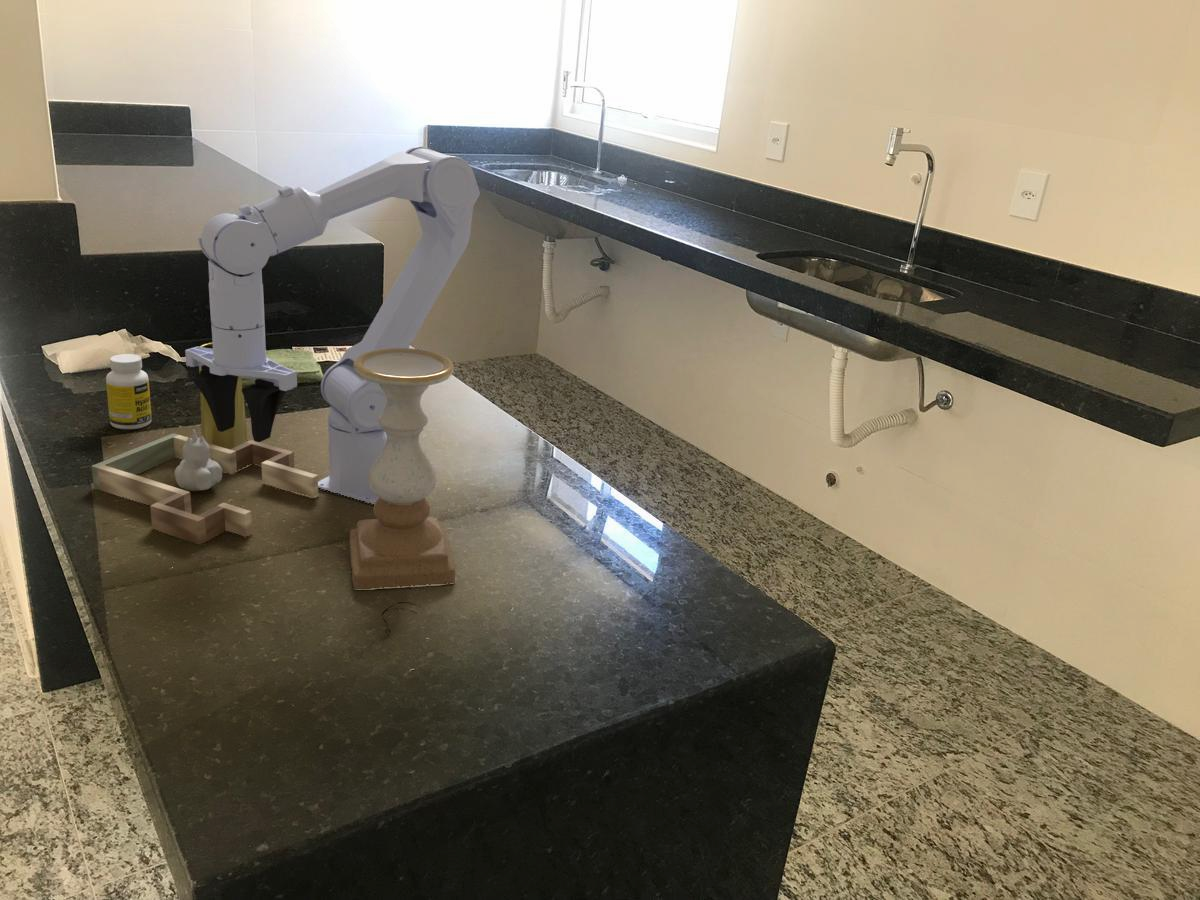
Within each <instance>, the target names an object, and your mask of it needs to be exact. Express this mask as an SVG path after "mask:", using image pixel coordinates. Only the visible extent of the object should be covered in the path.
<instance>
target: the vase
mask: <svg viewBox="0 0 1200 900" xmlns="http://www.w3.org/2000/svg"><path fill="white" fill-rule="evenodd" d="M199 347H203V348H209V349H213V342H208V343H204V344H201V345H200V346H199ZM198 370H199V373H200V371H202V369H201V367H200V366H198ZM199 373H198V374H199ZM242 388H243V387H242V377H238V381H237V386H236V394H235V424H234V427H233V428H230V429H228V430H226V431H223V432H220V431H218V429H217V427H216V424H215V421H214V418H213V415H212V413H211V410H210V408H209V405H208V403H207V401H206V399H205V398H204V396H203V394H202V393H201V391H200V390H199V391H200V393H199V396H200V398H199V399H200V423H201V429H200V431H201V432H200V433H201V434H200V435H201V436H203V438H204V439H205V441H206V442H207V443H209V444H212V445H216V446H219V447H223V448H226V449H232V448H234V447H236V446H239V445H241V444H243V443H245V442H248V441H249V440H248V436H247V433H248V432H247V419H246V410H245V409H246V408H245V397H244V395H243V393H242Z"/></svg>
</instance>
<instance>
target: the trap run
mask: <svg viewBox="0 0 1200 900" xmlns="http://www.w3.org/2000/svg"><path fill="white" fill-rule="evenodd" d="M188 438H190V439H192V437H189V436H185V435H181V434H177V433H174V432H173V433H171V434H167V435H166V436H163V437H160V438H158V439H156V440H153V441H150V442H148V443H145V444H143V445H140V446H138V447H136V448H133V449H130V450H127V451H125V452H123V453H120V454H118V455H115V456H112V457H110V458H107V459H106V460H102V461H101V462H98V463H95V464H92V465H91V474H92V481H93V482H92V483H93V489H96V490H98V491H102V492H104V493H107V494H111V495H115V496H117V497H120V498H123V497H124V498H123V499H126V498H127V499H126V500H129V499H130V501H132V500H134V501H133V502H135V501H137V502H136V503H138V502H141V503H145V504H147V505H151V506H149V507H150V508H149V510H150V518H151V519H150V520H151V527H152V528H154V529H156V530H155V531H157V530H159V531H158V532H160V531H161V532H160V533H162V534H166V533H167V534H166V535H168V536H172V535H173V536H172V537H175V538H177V537H178V538H177V539H180V540H184V541H186V540H187V542H189V541H190V543H193V544H196V545H198V544H199V546H201V545H202V543H203V544H204V543H206V542H208V541H210V540H212V539H213V538H216V537H218V536H219V535H221V534H223V533H224V532H223V531H225V530H226V531H225V532H227V531H230V532H233V533H236V534H239V535H243V536H248V535H250V534H251V533H252V534H253V525H252V524H253V523H252V521H253V519H252V510H248V509H245V508H242V507H239V506H236V505H232V504H230V503H226V502H221V503H220V504H218V505H216V506H214V507H212V508H211V509H210V508H209V509H208V510H206V511H204V512H203V513H201V514H199V515H198V514H194V513H192V499H191V491H189V490H186V489H183V488H179V487H175V486H172V485H169V484H166V483H163V482H159V481H157V480H153V479H150V478H146V477H144V476H140V475H139V474H141V473H143V471H144V472H145V470H146V471H148V470H150V469H152V467H153V468H155V467H157V466H159V464H160V465H161V463H162V464H165V463H167V462H169V461H171V460H173V458H174V459H177V458H179V459H178V460H180V459H181V461H182V460H185V459H184V457H183V446H184V444H185V443H186V441H187V439H188ZM207 444H208V445H209V448H210V457H209V458H210V459H211V460H213V461H216V462H217V463H218V464H219V465H220V467H221V468H222V471H223V472H222V473H224V472H227V473H231V474H232V473H234V472H235V471H238V470H239V469H242V468H243V467H246V466H247V465H250V464H257V465H260V466H261V467H260V468H261V482H263V483H267V484H270V485H273V486H276V487H279V488H284V489H287V490H289V491H293V492H297V493H300V494H304V495H308V496H311V497H314V496H315V495H317V494H318V495H319V489H318V482H319V475H318V474H316V473H312V472H308V471H305V470H301V469H298V468H295V458H294V457H295V456H294V455H295V453H294V451H291V450H288V449H284V448H281V447H278V446H274V445H271V444H267V443H263V442H255V441H254V439H250V440H248V442H245V443H243V444H241V445H239V446H236V447H234V448H232V449H226V448H223V447H219V446H216V445H212V444H209V443H207ZM168 460H169V461H168ZM166 461H167V462H166ZM156 465H157V466H156ZM154 466H155V467H154ZM149 468H150V469H149ZM147 469H148V470H147ZM140 472H141V473H140ZM138 473H139V474H138ZM227 473H226V474H227ZM136 474H137V475H136ZM234 474H235V473H234ZM232 475H233V474H232ZM141 503H140V504H141ZM147 505H146V506H147ZM191 513H192V514H191ZM152 528H151V529H152ZM154 529H153V530H154ZM222 532H223V533H222ZM230 532H229V533H230ZM220 533H221V534H220ZM233 533H232V534H233ZM236 534H235V535H236ZM239 535H238V536H239ZM215 536H216V537H215ZM250 536H251V535H250ZM248 537H249V536H248Z"/></svg>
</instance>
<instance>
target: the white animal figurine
mask: <svg viewBox="0 0 1200 900" xmlns="http://www.w3.org/2000/svg"><path fill="white" fill-rule="evenodd" d="M191 436H192V437H188V439H187V441H186V443H185V444H184V446H183V457H184V459H185V460H181V461H180V462H179V465H177V467H175V469H174V473H173V474H174V479H175V481H176V483H177V485H178V486H179V487H180V489H184V490H185V491H188V492H199V491H206V490H209V489H210V488H212V487H214V486H215V485H216V484H219V483H220V482H221V481H222V478H223V472H222V468H221V467H220V465H219V464H218V463H217V462H216V461H213V460H211V459H210V458H209V457H210V448H209V445H208V444H207V442H206V441H205V439H204V438H203V436H202V435H201V436H200V437H198V435H197V433H196V431H195V429H193V431H192V435H191ZM190 438H192V439H190Z"/></svg>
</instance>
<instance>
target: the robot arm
mask: <svg viewBox="0 0 1200 900" xmlns="http://www.w3.org/2000/svg"><path fill="white" fill-rule="evenodd" d="M476 179H477V178H476V176H475V172H474V170H473V168H472V167H471V165H470V164H469V163H468V162H467V161H466V160H465V159H463V158H461V157H460V156H454V155H448V154H445V153H441V152H439V151H436V150H433V149H431V148H430V147H428V146H424V145H423V146H422V145H421V146H420V145H419V146H413V147H411V148H409V149H407V150H406V151H399V152H395V153H391V154H390V155H389V156H387V157H385V158H384V159H382V160H380V161H378V162H376V163H374V164H372V165H370V166H368V167H365V168H364V169H361V170H359V171H357V172H355V173H353V174H351V175H348V176H347V177H344V178H343V179H341V180H338V181H336V182H333V183H331V184H329V185H327V186H325V187H323V188H321V189H320V190H317V191H315V192H313V191H310V190H309V189H306V188H304V187H302V186H299V187H295V188H293V187H291V186H289V185H284V186H282V187H280V188H278V189H277V192H278V195H276V196H273V197H271V198H268V199H266V200H264V201H263V200H262V201H261V202H259V203H256V204H253V205H252V206H250V205H249V204H248V203H247V204H246V203H244V204H242V205H240V206H239V207H238V211H239V214H238V215H237V214H235V213H232V214H231V213H228V212H227V213H220V214H216V215H215V216H213V217H211V218H210V219H209V220H208V221H207V224H205V225H204V226H203V228H202V231H201V233H200V235H201V236H200V237H198V239H197V240H198V245H199V247H200V249H201V251H202V253H203V254H204V255H205V256H206V258H208V261H207V262H208V279H209V281H208V295H209V310H210V323H211V325H210V326H211V337H212V338H211V339H212V340H211V341H212V342H211V343H213V349H209V348H203V347H200V346H195V347H191V348H187V349H185V350H184V353H185V365H186V366H187V367H191V368H194V367H199V366H200V367H201V369H202V371H200V373H197V374H194V375H193V377H192V378H193V379H192V381H193V383H194V384H195V386H196V387H197V388H198V390H199V391H201V393H202V394H203V396H204V398H205V399H206V401H207V403H208V405H209V408H210V410H211V413H212V415H213V418H214V421H215V424H216V427H217V429H218V431H220V432H223V431H226V430H228V429H230V428H233V427H234V424H235V394H236V386H237V381H238V377H243V378H246V379H250V380H254V381H255V384H253V385H250V386H247V387H242V393H243V396H244V400H245V401H246V404H247V407H248V411H249V415H250V423H251V424H250V425H251V434H252V438H253V439H252V440H253V441H255V442H260V443H262V442H263V441H265V440H267V439H270V438H271V435H272V430H273V425H274V422H275V419H276V414H277V412H278V409H279V407H280V403H281V402H282V401H283V399H284V396H285V394H286V393H287V391H290V390H293V389H294V388H297V387H298V383H297V371H295V370H291V369H288V368H286V367H284V366H282V365H280V364H278V363H276V362H274V361H272V360H270V359H268V358H266V350H267V349H266V348H267V346H266V343H267V342H266V324H265V323H266V322H265V301H264V300H265V298H264V284H263V273H262V272H263V271H262V270H263V268H264V267H265V266H266V265H267V263H268V260H269V258H270V257H275V256H276V255H278V254H281V253H283V252H286V251H287V250H291V249H293V248H294V247H297V246H299V245H301V244H303V243H306V242H309V241H311V240H313V239H315V238H318V237H320V236H322V235H323V234H324V232H325V230H326V228H327V225H328V223H329V221H330V220H333V219H335V218H337V217H340V216H342V215H345V214H348V213H351V212H353V211H356V210H360V209H361V208H364V207H365V208H366V207H368V206H369V205H372V204H375V203H378V202H380V201H381V202H382V201H383V200H386V199H389V198H396V199H397V198H398V199H401V200H402V199H403V200H407V201H409V202H410V203H411V205H412V206H413V208H414V210H415V213H416V215H417V218H418V222H419V225H420V227H421V233H422V234H421V236H420V238H419V239H418V242H417V243H416V245H415V246H414V247H413V250H412V252H411V253H410V255H409V257H408V259H407V260H406V262H405V264H404V266H403V268H402V269H401V271H400V273H398V274H399V275H398V276H397V278H396V280H395V282H394V283H393V284H392V287H391V289H389V292H388V294H387V296H386V297H385V299H384V300H383V302H382V304H381V306H380V307H379V310H378V311H377V314H376V315H375V317H374V319H373V320H372V322H371V324H370V325H369V327H368V329H367V331H366V333H365V334H364V336H363V338H362V339H361V341H360V342H358V343H356V344H354V345H352V346H350V347H348V348H347V349H345V351H344V353H343V355H342V356H341V358H340V359H339V360H338V361H337V362H336V363H334V364H333V365H332V366H330V367H329V368H328V369H327V370H326V371H325V373H324V374H323V378H322V380H321V381H320V392H321V395H322V397H323V398H324V399H323V400H325V401H326V403H328V405H329V407H330V411H329V414H328V417H327V418H328V419H327V423H328V427H327V428H328V475H327V477H324V478H323V479H321V480H318V487H319V488H322V489H325V490H328V491H331V492H330V493H332V492H334V493H333V494H335V493H339V494H341V495H340V496H342V495H344V496H343V497H345V496H347V497H346V498H349V497H352V498H354V499H353V500H356V499H357V500H356V501H359V500H361V501H360V502H362V501H365V502H364V503H366V502H367V503H366V504H369V503H371V504H370V505H373V504H375V502H376V501H377V500H378V499H379V498H378V497H377V496H376V495H375V494H374V493H373V492H372V491H371V489H370V487H369V484H368V475H369V471H370V469H371V466H372V465H373V463H374V461H375V460H376V459H377V457H378V456H379V454H380V453H381V452H382V450H383V448H384V447H385V445H386V442H387V435H386V433H385V431H384V430H383V426H381V425H380V424H379V422H378V417H379V415H380V414H381V413H382V412H383V411H384V409H385V407H386V404H387V399H386V395H385V393H384V391H383V390H382V389H381V388H380V386H379V384H377V383H373V382H370V381H367V380H365V379H363V378H361V377H360V376H358V374H357V373H356V372H355V370H354V361H355V359H356V358H357V357H358V356H360V355H361V354H363V353H366V352H369V351H373V350H379V349H387V348H410V346H411V345H412V343H413V341H414V340H415V338H416V336H417V334H418V333H419V330H420V328H421V327H422V325H423V324H424V322H425V320H426V318H427V316H428V315H429V313H430V311H431V310H432V308H433V306H434V305H435V303H436V301H437V299H438V297H439V295H440V294H441V292H442V290H443V288H444V287H445V285H446V283H447V281H448V279H450V276H451V275H452V272H453V271H454V269H455V268H456V266H457V264H458V263H459V260H460V258H461V257H462V256H463V253H464V252H465V250H466V248H467V246H468V244H469V242H470V239H471V231H472V220H473V213H474V212H473V211H474V206H475V204H476V202H477V200H478V199H479V197H480V194H481V193H480V188H479V186H478V182H477V180H476ZM322 489H321V490H322ZM325 490H324V491H325ZM328 491H327V492H328ZM339 494H338V495H339ZM352 498H351V499H352Z"/></svg>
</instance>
